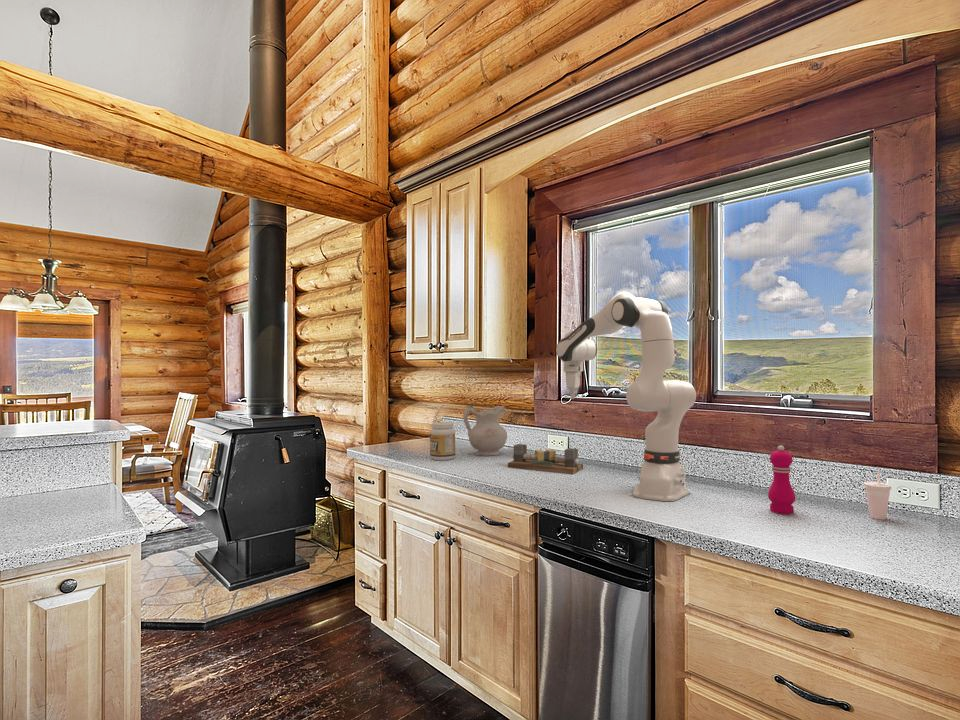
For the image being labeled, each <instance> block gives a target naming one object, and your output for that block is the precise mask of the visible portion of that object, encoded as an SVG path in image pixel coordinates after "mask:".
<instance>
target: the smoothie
mask: <svg viewBox="0 0 960 720" xmlns="http://www.w3.org/2000/svg"><path fill="white" fill-rule="evenodd" d="M863 487H864V489H865V493H866V500H867V507H868V512H869V517H870V518H871V519H875V520H883V521H884V520H886V519H887V515H888V514H887V513H888V506H889V499H890V493H891V490H892V485H891V484H888V483H885V482H881V469H880V468H877V481H864V483H863Z"/></svg>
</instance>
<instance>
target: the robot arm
mask: <svg viewBox="0 0 960 720" xmlns="http://www.w3.org/2000/svg"><path fill="white" fill-rule="evenodd" d="M623 327H628V328H633V327H635V328H638V330H639V331H640V341H641V367H640V371H639V373H638V375H637V377H636V378H635V380H634V381H633V382H632V383H631V384H630V385H629V386H628V388H627V389H626V394H625V396H626V397H625V398H626V403H627V404H628V406H629V407H630V408H631V409H632V410H633V411H638V412H646V413H649V412H657V415H656V417H655V418H654V420H653V421H651V422H650V423H648V425H647V426H646V428H645V437H644V438H645V442H644V443H645V444H644V445H645V449H644V451H643V462H642V463H641V465H640V466H641V467H640V473H639V474H640V475H639V476H638V480H639V482H638V483H637V482H636V483H635V485H634V489H633V491H632V496H633V497H635V498H639V499H644V500H645V499H646V500H652V501H653V500H654V501H660V502H661V501H662V502H676V501H678V500H679V499H681V498H684V497H685V496H687V495H689V494H691V489H689V488H686V475H685V474H686V473H685V471H686V470H685V468H684V466H683V465H681V463H680V461H681V460H680V459H681V453H680V450H679V434H680V433H679V431H680V426H681V423H682V421H683V419H684V416H685V414H686V413H687V412H688V411H689V410H690V408H692V407H693V406H694V405H695V403H696V399H697V391H696V389H695V387H694V386H693V385H692V383H690V382H687V381H684V380H679V379H664V375H665V372H666V371H667V370H668V369H669V368H671V367H672V366H673V365H674V363H675V361H676V356H675V355H676V354H675V344H674V343H675V342H674V334H673V327H672V323H671V319H670V316H669V309H668V306H667V304H666V303H665V302H664V301H662V300H658V299H656V298H654V299H651V298H646V297H645V298H644V297H638V296H637V297H636V296H634V295H633V294H632V293H630V292H628V291H622V292H618V293H617V294H616V295H614V296H613V297H612V298H610V299H609V301H608V302H607V303H606V304H605V305H604V306H603V307H602V308H601V309H600V310H598V312H596V313H595V314H594V315H592V316H591V317H589V318H587V319H585V320H584V321H583V322H581V324H579V325H578V326H577V327H576V328H575V329H574V330H573V331H572V332H567V333H566V334H565V335H564V337H562V338H561V339H560V340H559V341H558V342H557V345H556V348H555V352H556V356H557V357H558V358H559V360H561V361H562V362H563V372H564V373H565V383H566V384H565V385H566V389H567V390H569V398H570V400H574V399H575V398H578V388H579V387H580V385H581V383H580V382H581V381H580V376H581V372H584V361H591V360H594V359H595V357H597V355H598V346H597V344H596V343H597V342H596V341H595V340H593V339H591V338H592V337H596V336H602V335H603V336H605V335H611V334H615V333H616V332H618V331H619V330H621V329H623Z"/></svg>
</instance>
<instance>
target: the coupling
mask: <svg viewBox="0 0 960 720" xmlns="http://www.w3.org/2000/svg"><path fill="white" fill-rule="evenodd" d="M534 455H535V460H537V461H544V460H547V459H548V460H549V461H551V460H555V457H557V455H556V450H555V449H552V448H551V449H550V448H549V449H546V450H542V449H534Z"/></svg>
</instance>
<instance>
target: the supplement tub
mask: <svg viewBox="0 0 960 720" xmlns="http://www.w3.org/2000/svg"><path fill="white" fill-rule="evenodd" d="M429 456H430V457H429V458H430V459H431V460H433V461H440V460H442V461H451V460H454V459H455V457H456V430H455V428H454V422H451V421H450V422H449V421H439V422H437V421H436V422H432V423H431V429H430V431H429Z"/></svg>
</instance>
